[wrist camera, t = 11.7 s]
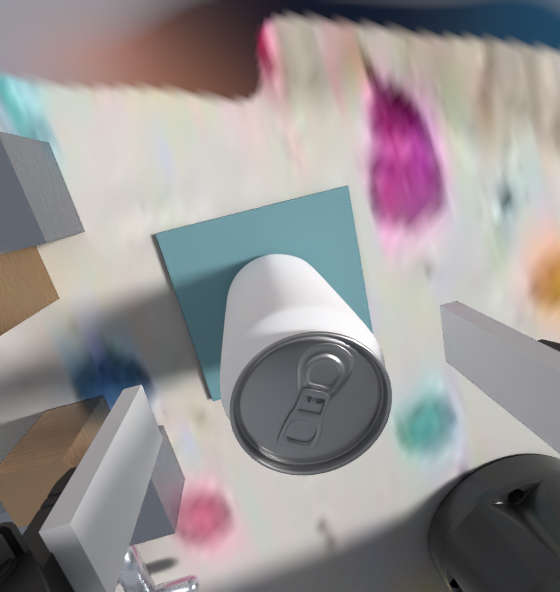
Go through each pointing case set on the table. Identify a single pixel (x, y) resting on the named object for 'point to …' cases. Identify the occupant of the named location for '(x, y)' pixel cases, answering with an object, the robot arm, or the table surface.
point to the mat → (251, 245)
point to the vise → (78, 416)
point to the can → (299, 370)
